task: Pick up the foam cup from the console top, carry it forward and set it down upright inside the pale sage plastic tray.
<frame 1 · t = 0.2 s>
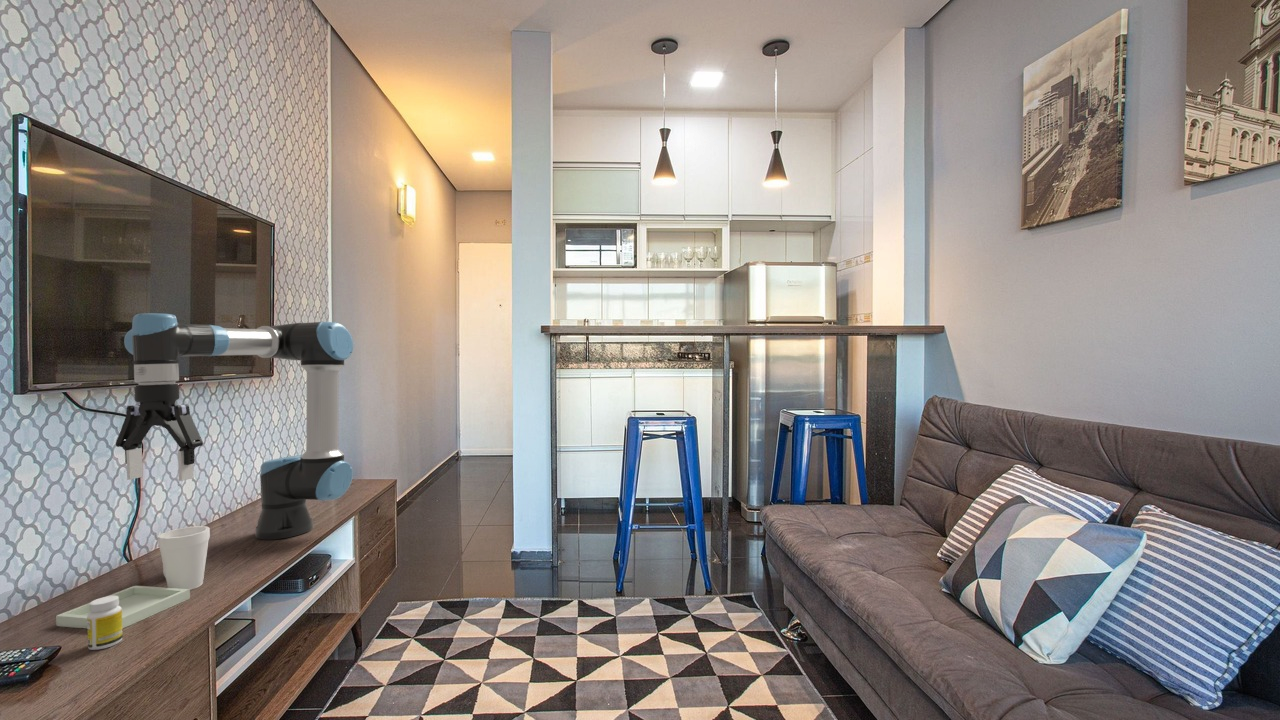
hand: (160, 479, 125), 27 cm above the cabinet, fingers open, 13 cm apart
white oval container: (187, 571, 143), on the cabinet
foam cup: (185, 587, 133), on the cabinet
tray: (126, 611, 120), on the cabinet
supplement bottle: (105, 645, 106), on the cabinet
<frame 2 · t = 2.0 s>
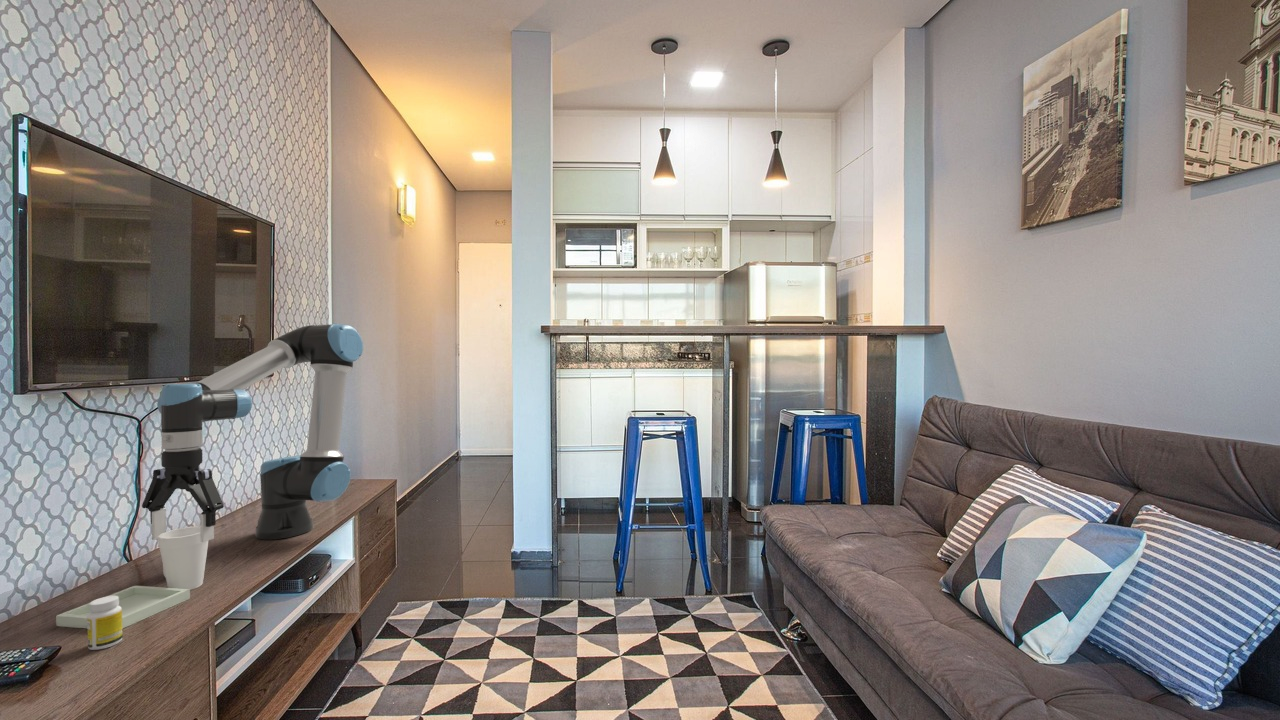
hand: (183, 539, 132), 11 cm above the cabinet, fingers open, 13 cm apart
nothing on the cabinet moved.
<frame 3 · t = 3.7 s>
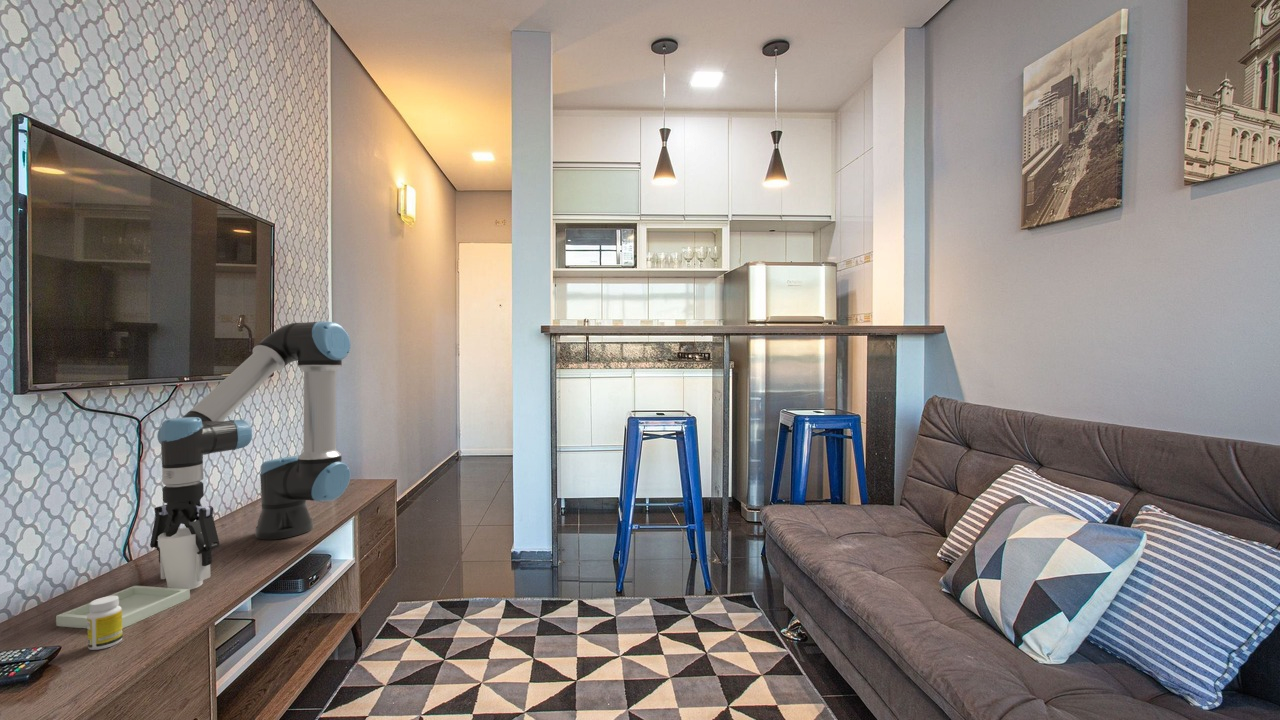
hand: (185, 577, 133), 2 cm above the cabinet, fingers closed on foam cup, 9 cm apart
foam cup: (185, 587, 133), on the cabinet, touching gripper
everything else where it was.
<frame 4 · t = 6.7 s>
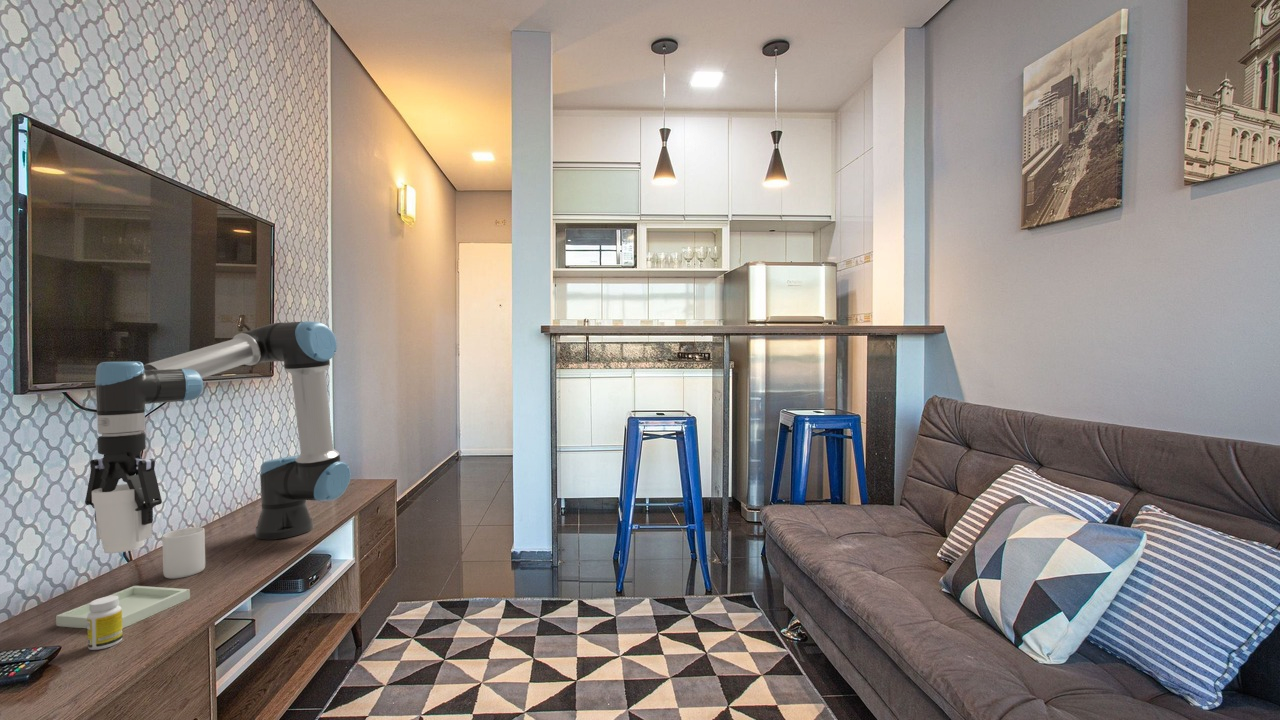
hand: (124, 538, 120), 16 cm above the cabinet, fingers closed on foam cup, 9 cm apart
foam cup: (124, 549, 120), point 13 cm above the cabinet, touching gripper
everything else where it was.
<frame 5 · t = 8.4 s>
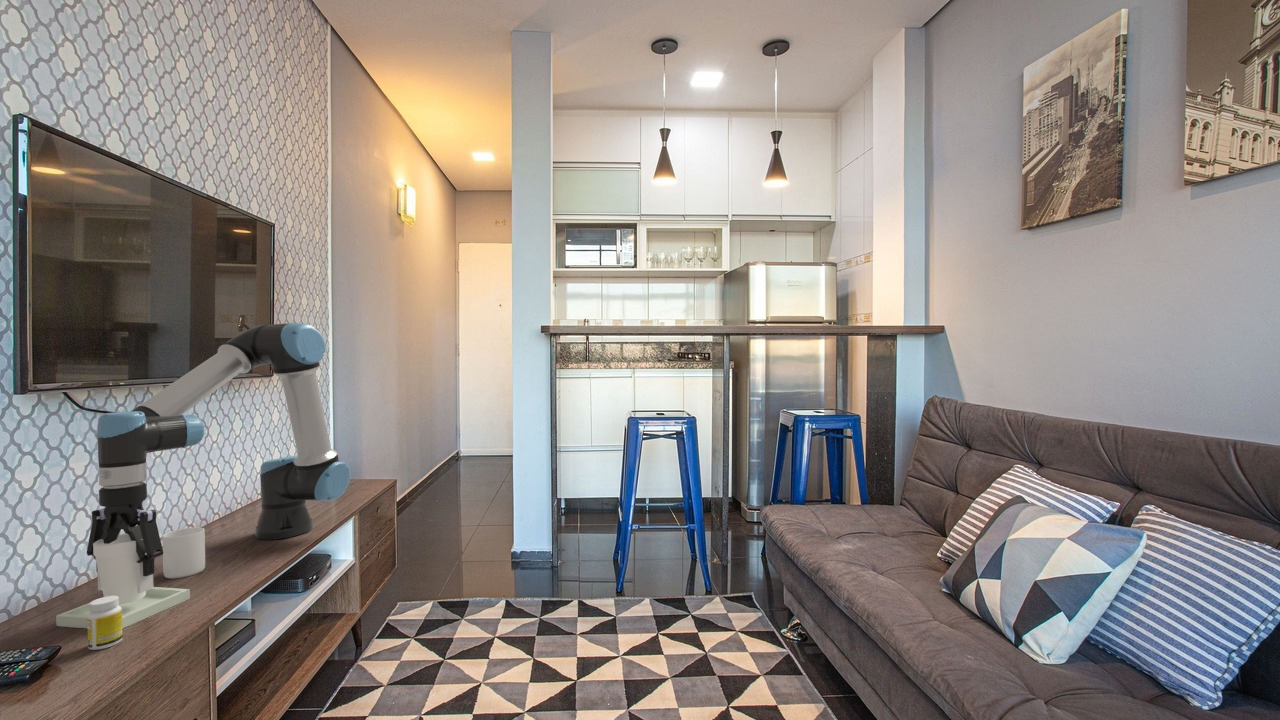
hand: (125, 589, 120), 5 cm above the cabinet, fingers closed on foam cup, 9 cm apart
foam cup: (125, 599, 120), point 3 cm above the cabinet, touching gripper
everything else where it was.
when the fingers open (4 cm above the cabinet, at t = 9.6 s): foam cup drops 1 cm, resting on tray.
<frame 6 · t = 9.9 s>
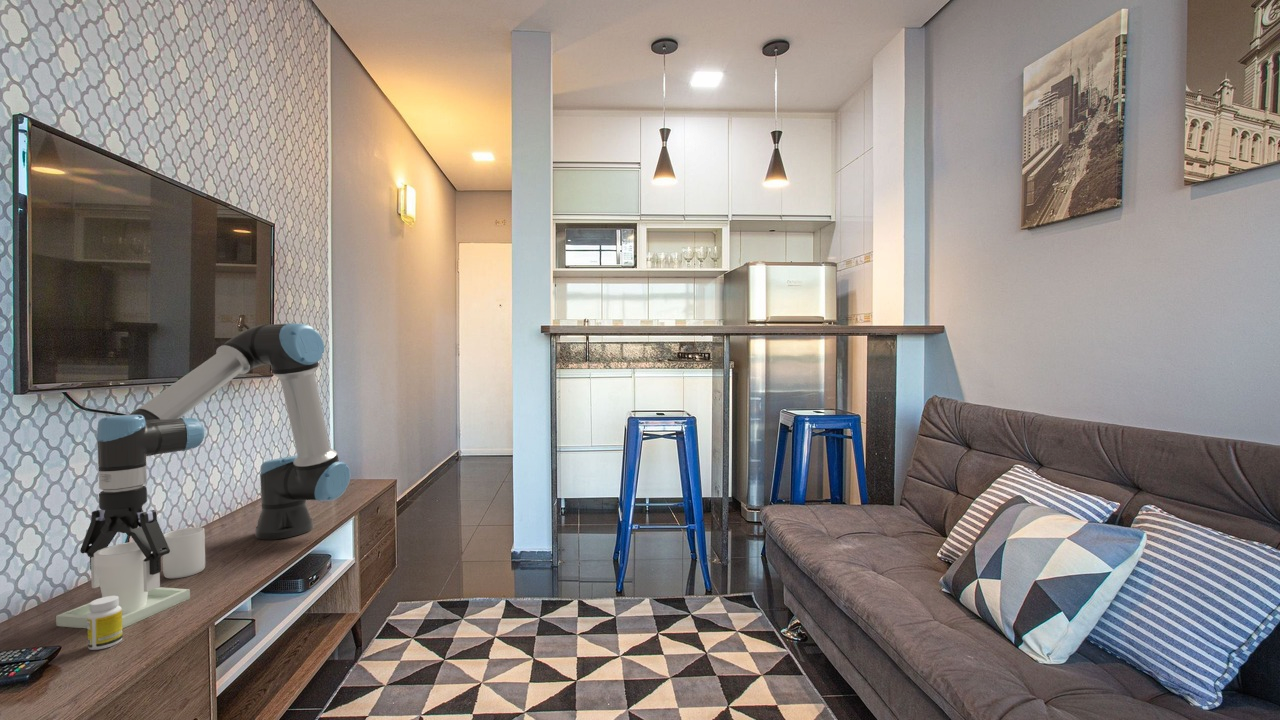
hand: (125, 587, 120), 5 cm above the cabinet, fingers open, 13 cm apart
foam cup: (126, 609, 120), resting on tray
everything else where it was.
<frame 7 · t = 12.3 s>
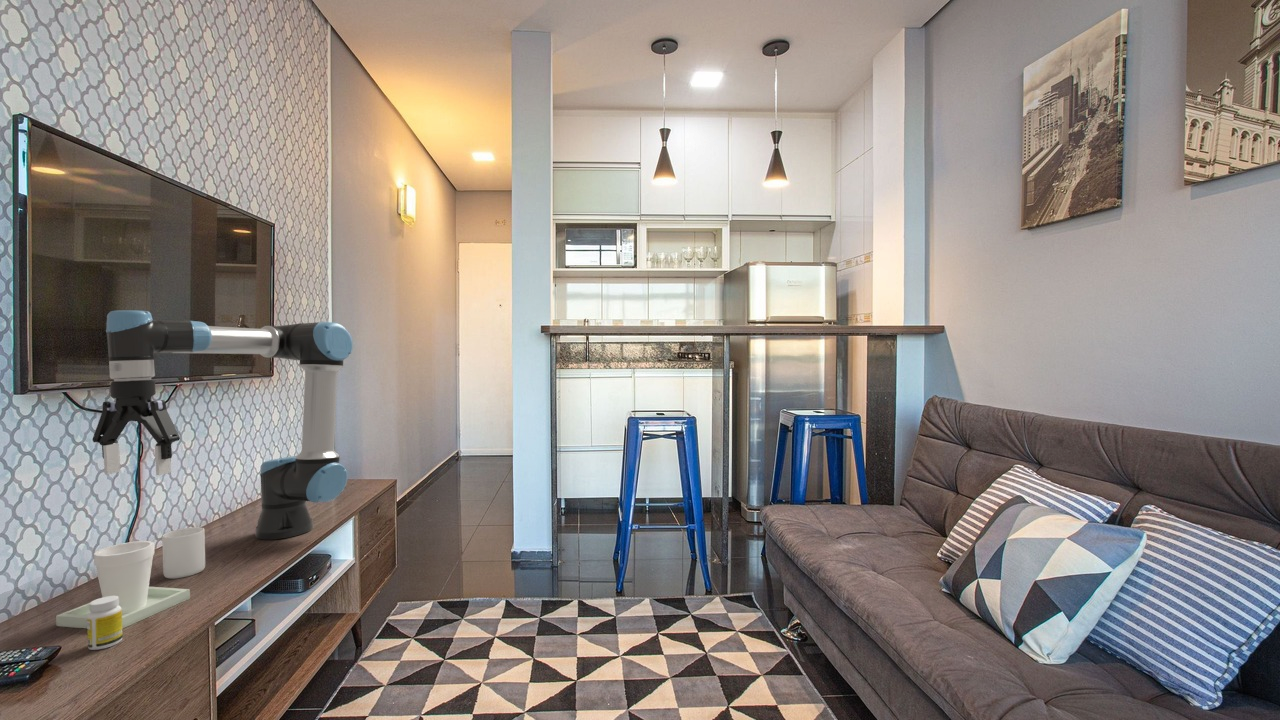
hand: (138, 473, 127), 28 cm above the cabinet, fingers open, 13 cm apart
nothing on the cabinet moved.
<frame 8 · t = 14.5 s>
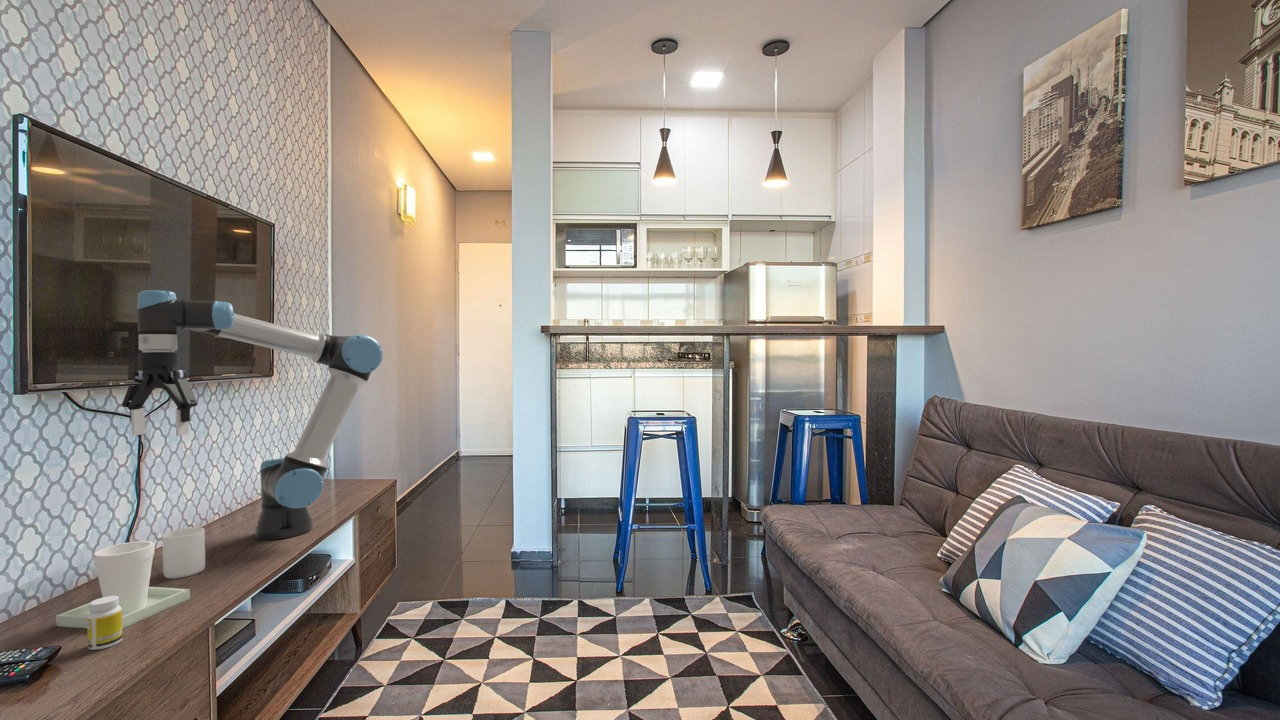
hand: (160, 434, 143), 35 cm above the cabinet, fingers open, 13 cm apart
nothing on the cabinet moved.
at the end: foam cup inside the target area on the tray (0.0 cm from its centre), point 0.4 cm above the tray's base; foam cup tilted 0°; the gripper is holding nothing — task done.
